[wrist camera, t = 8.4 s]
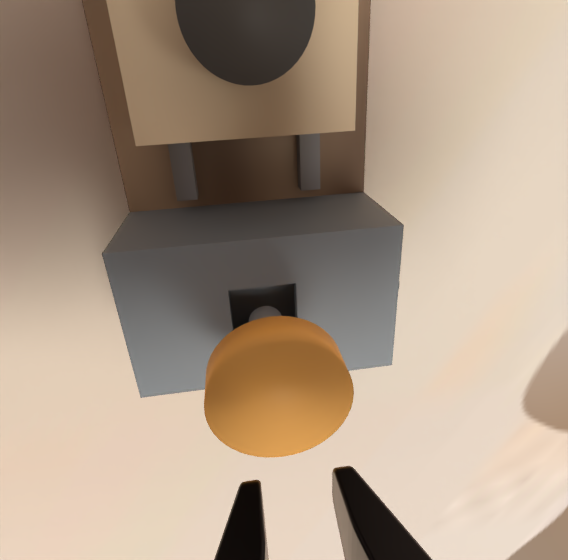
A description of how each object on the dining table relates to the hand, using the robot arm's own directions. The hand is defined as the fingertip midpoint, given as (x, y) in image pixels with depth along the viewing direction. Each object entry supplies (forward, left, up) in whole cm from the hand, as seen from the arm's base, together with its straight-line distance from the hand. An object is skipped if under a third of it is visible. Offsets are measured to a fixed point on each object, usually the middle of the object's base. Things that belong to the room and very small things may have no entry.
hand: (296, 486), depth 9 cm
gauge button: (0, 0, -7) cm, 7 cm away
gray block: (0, 0, -13) cm, 13 cm away
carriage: (0, +9, -10) cm, 14 cm away
